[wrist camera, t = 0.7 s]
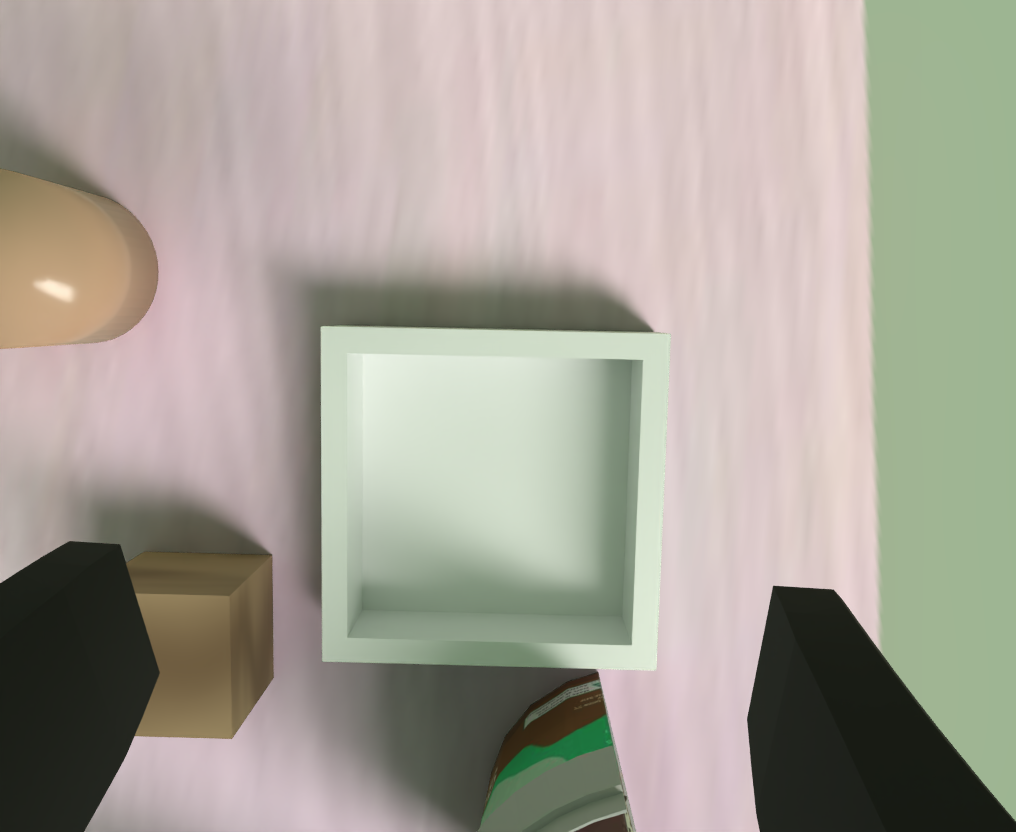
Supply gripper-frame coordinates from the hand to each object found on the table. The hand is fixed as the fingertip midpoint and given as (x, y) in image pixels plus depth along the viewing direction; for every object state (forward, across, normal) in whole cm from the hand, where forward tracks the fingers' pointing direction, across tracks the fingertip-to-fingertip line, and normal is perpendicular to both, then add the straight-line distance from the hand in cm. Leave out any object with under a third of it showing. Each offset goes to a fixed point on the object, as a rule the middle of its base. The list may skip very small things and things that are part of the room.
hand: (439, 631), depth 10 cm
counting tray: (+17, +2, +10) cm, 20 cm away
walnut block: (+14, +12, +14) cm, 23 cm away
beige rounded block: (+19, +16, +3) cm, 25 cm away
